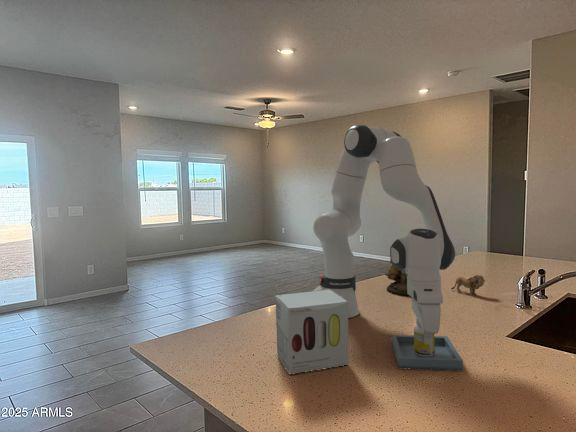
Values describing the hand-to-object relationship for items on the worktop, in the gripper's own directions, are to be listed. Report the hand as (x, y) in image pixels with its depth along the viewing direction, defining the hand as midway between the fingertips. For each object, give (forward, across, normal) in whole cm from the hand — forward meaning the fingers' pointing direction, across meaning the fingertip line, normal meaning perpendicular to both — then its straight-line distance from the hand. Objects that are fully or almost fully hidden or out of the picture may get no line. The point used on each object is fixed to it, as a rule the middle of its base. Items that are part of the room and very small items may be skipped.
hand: (424, 336), depth 108 cm
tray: (+6, 0, 0) cm, 6 cm away
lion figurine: (+6, -63, +30) cm, 70 cm away
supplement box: (+6, +5, -31) cm, 32 cm away
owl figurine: (+6, -65, +3) cm, 65 cm away
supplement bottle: (+5, 0, 0) cm, 5 cm away
